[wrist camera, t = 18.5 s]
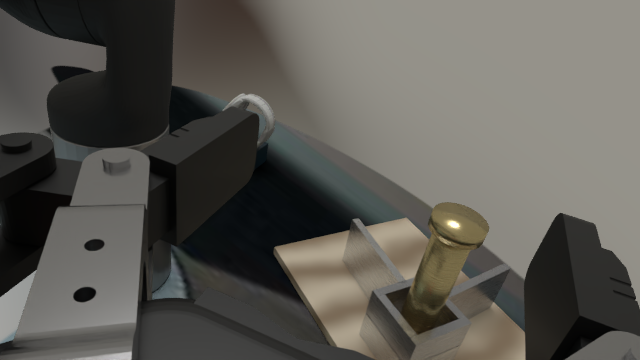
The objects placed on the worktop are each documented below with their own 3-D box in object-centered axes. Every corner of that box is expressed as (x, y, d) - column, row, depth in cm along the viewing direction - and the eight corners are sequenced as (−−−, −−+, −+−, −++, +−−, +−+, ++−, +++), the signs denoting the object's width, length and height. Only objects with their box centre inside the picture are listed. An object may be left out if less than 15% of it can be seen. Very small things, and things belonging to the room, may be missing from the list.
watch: (232, 148, 73) (236, 83, 68) (275, 164, 71) (284, 99, 65) (211, 161, 69) (214, 93, 63) (257, 179, 67) (264, 111, 61)
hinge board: (273, 253, 54) (274, 247, 53) (404, 223, 63) (406, 217, 63) (399, 455, 36) (402, 449, 35) (554, 371, 46) (558, 365, 45)
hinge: (313, 267, 51) (321, 225, 48) (421, 239, 59) (434, 202, 56) (397, 389, 40) (416, 345, 37) (518, 334, 48) (541, 294, 44)
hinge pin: (373, 339, 44) (421, 207, 36) (407, 325, 46) (460, 198, 38) (400, 377, 41) (460, 242, 32) (435, 361, 43) (500, 231, 35)
